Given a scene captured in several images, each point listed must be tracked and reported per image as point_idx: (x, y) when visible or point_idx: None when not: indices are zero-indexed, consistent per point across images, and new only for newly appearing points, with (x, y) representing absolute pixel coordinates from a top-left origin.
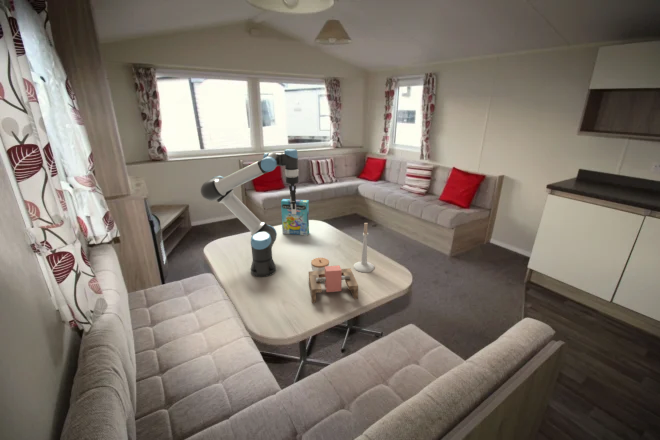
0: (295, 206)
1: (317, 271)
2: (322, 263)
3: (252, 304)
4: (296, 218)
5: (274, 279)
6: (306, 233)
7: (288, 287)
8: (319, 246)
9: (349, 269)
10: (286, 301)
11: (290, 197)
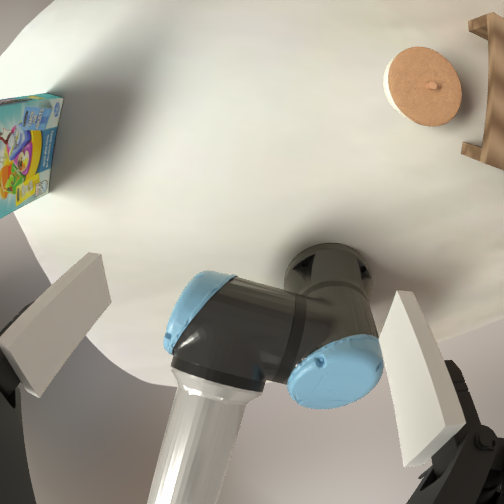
0: (444, 382)
1: (495, 131)
2: (446, 84)
3: (471, 312)
4: (5, 154)
5: (396, 255)
6: (57, 102)
7: (454, 221)
8: (164, 43)
9: (499, 20)
10: (501, 238)
11: (40, 393)
